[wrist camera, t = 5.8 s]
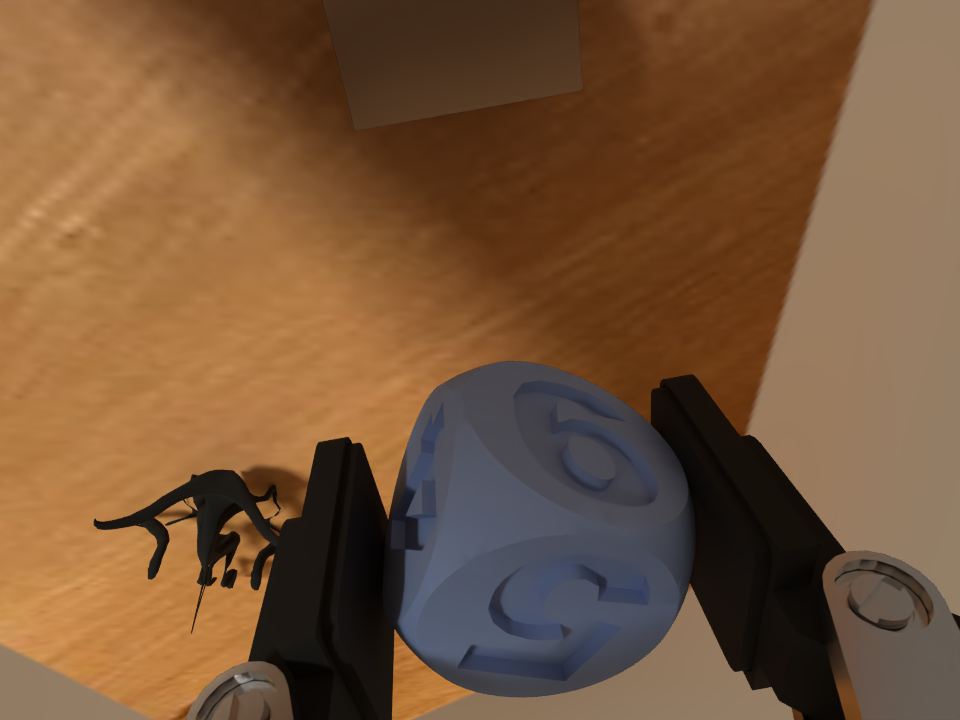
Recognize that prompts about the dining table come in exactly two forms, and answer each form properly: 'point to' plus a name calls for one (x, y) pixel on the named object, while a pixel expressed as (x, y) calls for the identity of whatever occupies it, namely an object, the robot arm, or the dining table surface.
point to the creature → (208, 524)
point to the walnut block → (451, 55)
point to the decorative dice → (535, 533)
